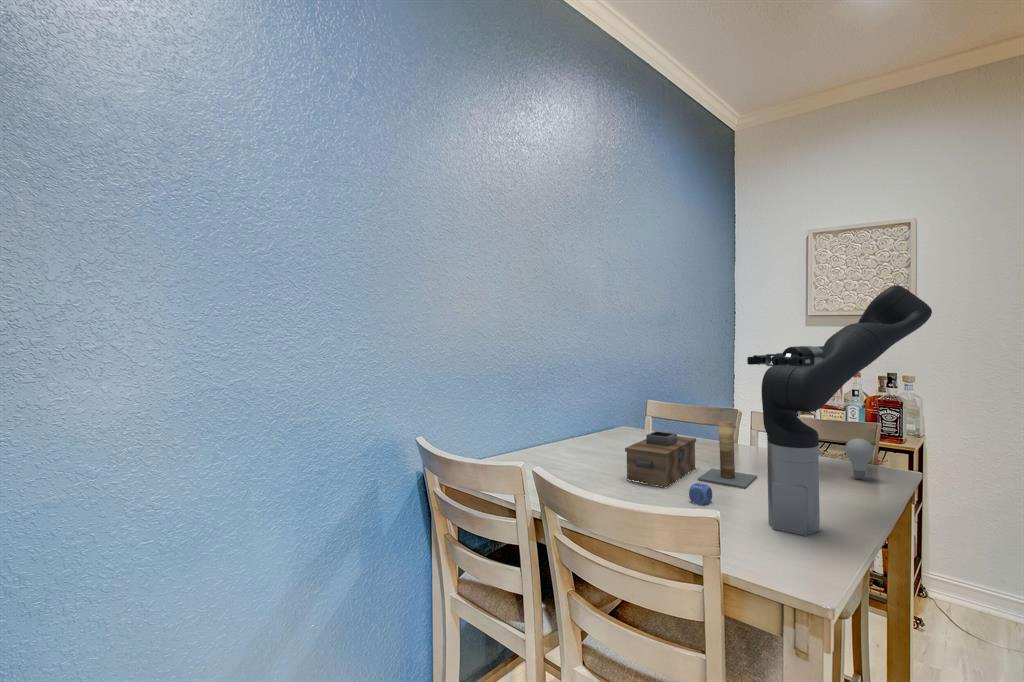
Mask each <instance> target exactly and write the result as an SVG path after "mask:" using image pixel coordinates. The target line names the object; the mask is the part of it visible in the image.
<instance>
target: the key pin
mask: <svg viewBox="0 0 1024 682" xmlns="http://www.w3.org/2000/svg"><path fill="white" fill-rule="evenodd" d="M718 438H719V440H718V441H719V444H718V445H719V465H720V466H719V467H720V468H719V470H720V472H721V477H722V478H727V479H733V478H735V472H736V471H735V470H736V466H735V440H734V421H729V420H720V421H718Z"/></svg>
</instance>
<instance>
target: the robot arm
mask: <svg viewBox="0 0 1024 682" xmlns="http://www.w3.org/2000/svg"><path fill="white" fill-rule="evenodd" d="M932 315H933V309H932V308H931V306H929V304H928V303H926V302H925V301H923V300H922V299H921V298H920V297H918V296H916V295H915V294H914V293H912V292H911V291H910V290H908V289H907V288H905V287H903V286H901V285H900V284H897V285H892V286H889V287H888V288H885V290H883V291H881V292H880V293H879V294H878V295H876V297H875V298H873V300H871V302H870V303H869V304H868V305H867V307H866V308H865V310H864V311H863V313H862V314H861V316H860V318H859V319H858V321H857V322H856V323H850V324H847V325H846V326H844V327H843V328H841V329H839V330H838V331H837V332H835V333H833V334H832V335H831V336H830V337H829V338H827V340H826V341H825V342H824V345H821V346H820V345H819V346H811V345H801V346H800V345H799V346H789V347H786V348H785V349H784V350H783V352H777V353H766V354H760V355H759V354H758V355H757V354H755V355H752V356H747V358H746V359H747V360H746V361H747V365H749V366H750V365H751V366H752V365H758V366H760V365H765V366H767V367H769V368H767V370H765V372H764V374H763V377H762V380H761V381H762V382H761V404H762V405H761V406H762V419H763V421H762V422H763V427H764V430H765V432H766V438H767V441H766V442H767V445H766V447H767V507H768V508H767V509H768V510H767V511H768V512H767V514H768V516H767V517H768V518H767V519H768V524H769V525H771V528H772V529H774V530H778V531H783V532H788V533H791V534H796V535H800V536H806V537H807V536H808V535H812V534H816V533H818V532H820V530H821V529H820V528H821V527H820V522H821V520H820V518H821V517H820V512H821V511H820V461H819V460H820V456H819V455H820V447H819V445H820V444H819V443H820V442H819V441H820V439H819V438H820V437H819V433H818V431H817V430H816V429H814V428H813V427H811V426H809V425H808V424H806V423H804V422H803V421H802V420H801V419H800V418H799V417H798V416H797V414H796V412H800V413H812V412H817V411H819V410H820V409H821V408H822V407H824V406H825V405H826V404H827V403H828V402H829V401H830V400H831V399H832V398H833V397H834V396H835V394H837V393H838V391H839V390H840V389H841V388H842V387H844V385H845V384H846V383H848V382H849V381H850V380H851V379H852V378H853V377H854V376H856V375H857V374H858V373H860V372H861V371H862V370H864V369H865V368H867V367H868V366H870V365H871V364H872V363H873V362H875V361H876V360H877V359H879V357H880V356H881V355H883V354H884V353H885V352H887V351H888V349H890V348H891V347H892V346H894V345H896V343H898V342H899V341H901V340H904V338H906V337H908V336H909V335H910V334H912V333H913V332H916V331H917V330H918V329H920V328H921V327H922V326H923V325H925V324H927V322H928V321H929V319H930V318H931V317H932Z"/></svg>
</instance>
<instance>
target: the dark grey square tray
mask: <svg viewBox="0 0 1024 682" xmlns="http://www.w3.org/2000/svg"><path fill="white" fill-rule="evenodd" d="M677 436H678V433H676V432H675V433H673V432H667V431H658V430H655V431H652V432H650V433H647V434H646V435H645V437H646V438H645V439H646V444H653V445H660V446H667V447H669V446H671V445H673V444H675V443H677Z"/></svg>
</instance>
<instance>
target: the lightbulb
mask: <svg viewBox="0 0 1024 682" xmlns="http://www.w3.org/2000/svg"><path fill="white" fill-rule="evenodd" d="M844 448H845V449H844V450H845V453H846V454H847V457H848V458H849V460H850V462H851V467H852V470H853V476H854V477H855V478H856V479H857V480H863V479H865V478H866V471H867V467H868V464H869V461H870V460H871V459H872V457H873V455H874V447H873V445H872V444H871V443H870V442H869V441H867V440H866V439H863V438H859V437H858V438H857V437H855V438H852V439H849V441H847V443H846V444H845V447H844Z"/></svg>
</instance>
